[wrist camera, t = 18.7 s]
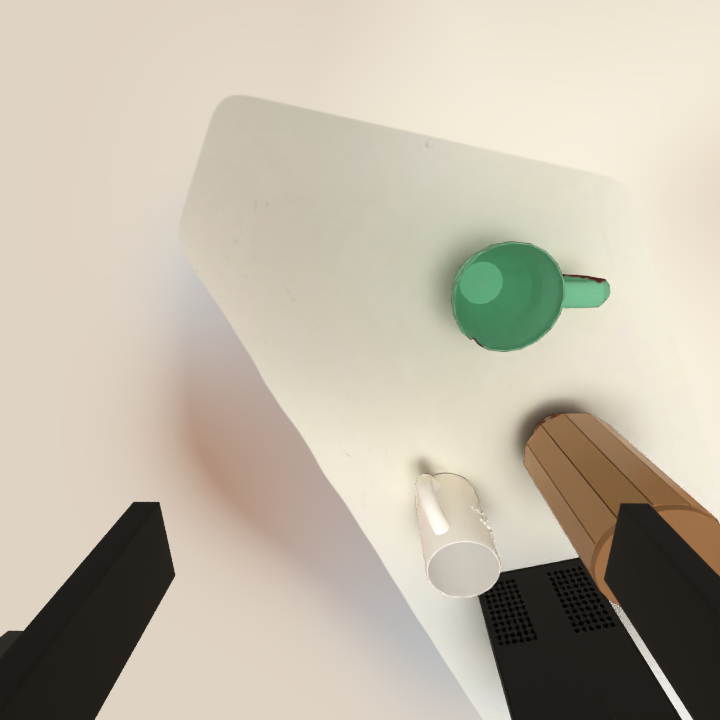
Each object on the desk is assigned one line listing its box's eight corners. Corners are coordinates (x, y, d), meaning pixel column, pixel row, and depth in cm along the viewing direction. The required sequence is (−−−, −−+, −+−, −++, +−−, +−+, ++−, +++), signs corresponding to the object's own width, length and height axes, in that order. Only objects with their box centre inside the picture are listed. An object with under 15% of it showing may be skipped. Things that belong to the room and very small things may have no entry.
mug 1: (444, 439, 52) (463, 499, 41) (487, 505, 55) (516, 579, 44) (388, 467, 54) (392, 534, 42) (433, 531, 57) (448, 608, 45)
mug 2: (435, 327, 47) (451, 354, 38) (436, 239, 44) (454, 244, 35) (565, 322, 47) (613, 348, 37) (575, 232, 43) (631, 235, 34)
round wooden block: (529, 413, 46) (606, 509, 30) (623, 412, 45) (748, 510, 30) (520, 490, 49) (585, 611, 34) (607, 490, 48) (712, 613, 33)
